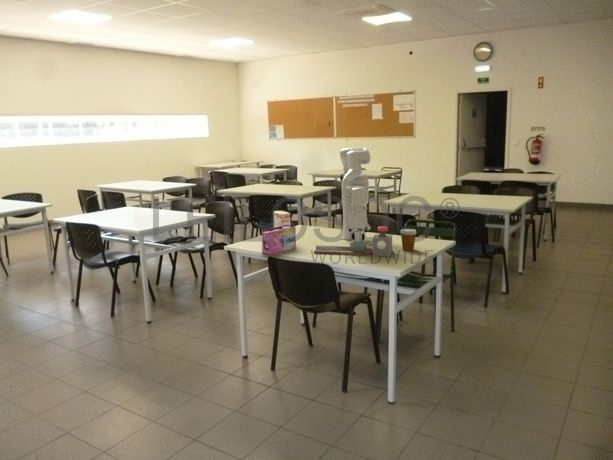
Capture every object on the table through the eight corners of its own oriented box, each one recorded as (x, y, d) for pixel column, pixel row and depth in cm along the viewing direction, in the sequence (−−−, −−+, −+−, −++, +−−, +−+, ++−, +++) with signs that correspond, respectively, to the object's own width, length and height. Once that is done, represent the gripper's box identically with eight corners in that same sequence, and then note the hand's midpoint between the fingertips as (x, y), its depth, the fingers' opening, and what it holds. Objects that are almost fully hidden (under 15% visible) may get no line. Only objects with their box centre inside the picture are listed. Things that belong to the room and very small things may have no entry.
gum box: (270, 255, 297) (269, 232, 295) (260, 253, 302) (259, 230, 300) (296, 247, 316) (295, 226, 313) (286, 246, 320) (286, 224, 318)
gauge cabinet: (374, 251, 302) (374, 234, 300) (391, 251, 300) (392, 234, 298) (372, 255, 290) (372, 238, 288) (390, 256, 288) (390, 239, 286)
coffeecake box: (291, 243, 328) (290, 213, 325) (280, 244, 326) (279, 214, 322) (284, 239, 342) (283, 210, 338) (274, 240, 340) (273, 210, 336)
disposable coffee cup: (415, 252, 297) (415, 231, 295) (398, 251, 301) (398, 231, 298) (417, 248, 306) (417, 228, 304) (401, 247, 309) (401, 228, 307)
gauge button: (378, 241, 297) (378, 226, 296) (387, 241, 296) (387, 226, 294) (377, 243, 292) (377, 227, 290) (386, 243, 291) (387, 228, 289)
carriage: (352, 248, 302) (352, 229, 300) (365, 248, 301) (365, 230, 298) (350, 250, 296) (350, 232, 294) (364, 251, 294) (364, 232, 292)
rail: (318, 249, 310) (318, 243, 309) (373, 251, 302) (373, 245, 302) (314, 253, 299) (314, 247, 298) (370, 255, 291) (370, 249, 290)
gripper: (373, 208, 295) (373, 239, 299) (344, 207, 299) (344, 238, 303) (372, 210, 288) (372, 242, 291) (342, 209, 292) (342, 241, 296)
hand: (358, 239), depth 297 cm, fingers open, 4 cm apart
